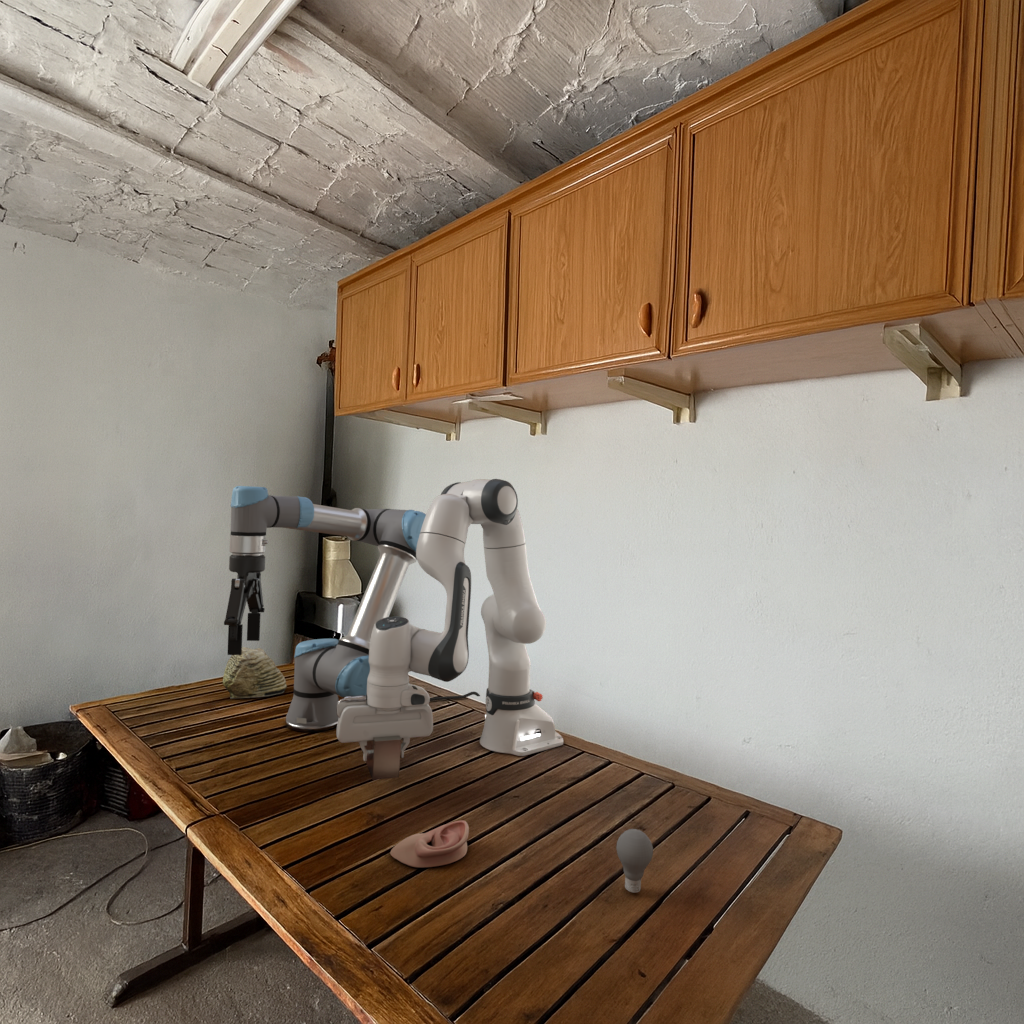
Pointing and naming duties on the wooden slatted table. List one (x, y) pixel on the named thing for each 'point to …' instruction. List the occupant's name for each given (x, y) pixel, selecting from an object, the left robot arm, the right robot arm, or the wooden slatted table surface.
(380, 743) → the bar
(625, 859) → the light bulb
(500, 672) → the right robot arm
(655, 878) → the wooden slatted table surface
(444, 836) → the anatomical model
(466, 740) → the wooden slatted table surface
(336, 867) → the wooden slatted table surface
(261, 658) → the fossil
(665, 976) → the wooden slatted table surface
